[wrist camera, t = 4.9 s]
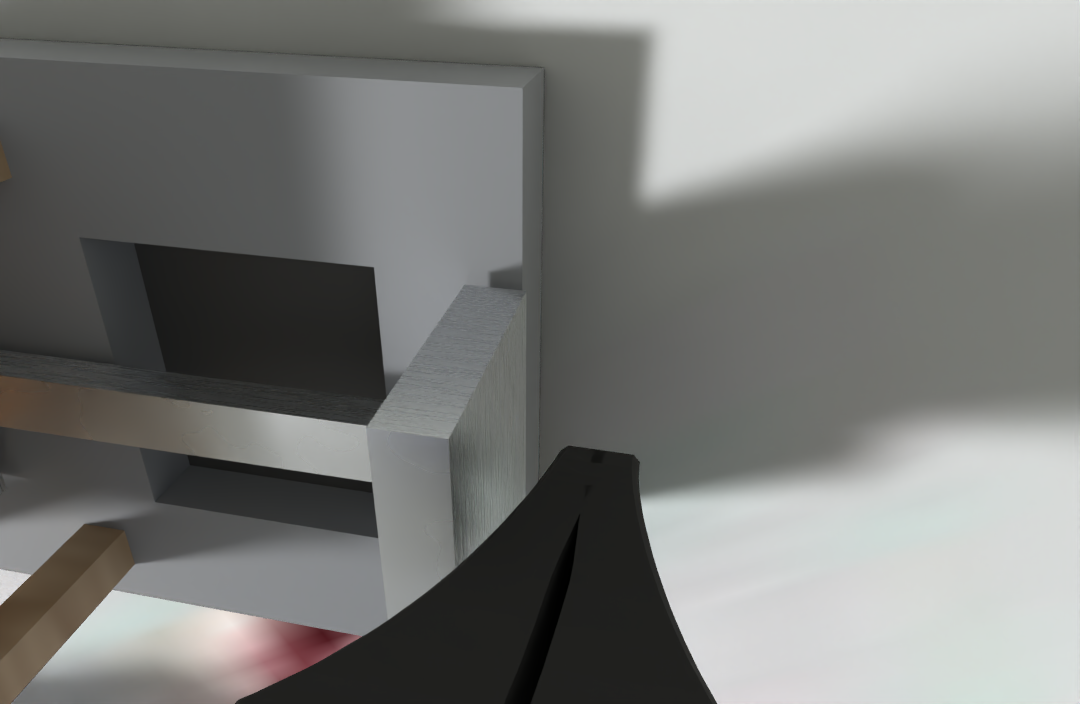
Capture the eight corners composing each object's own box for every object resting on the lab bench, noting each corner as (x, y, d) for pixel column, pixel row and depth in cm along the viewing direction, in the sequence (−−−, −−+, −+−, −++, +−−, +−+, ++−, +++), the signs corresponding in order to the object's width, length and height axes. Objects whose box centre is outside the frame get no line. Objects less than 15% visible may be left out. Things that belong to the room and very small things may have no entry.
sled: (526, 290, 13) (448, 439, 9) (525, 574, 16) (466, 763, 12) (-360, 199, 16) (-662, 285, 12) (-220, 450, 19) (-432, 576, 15)
